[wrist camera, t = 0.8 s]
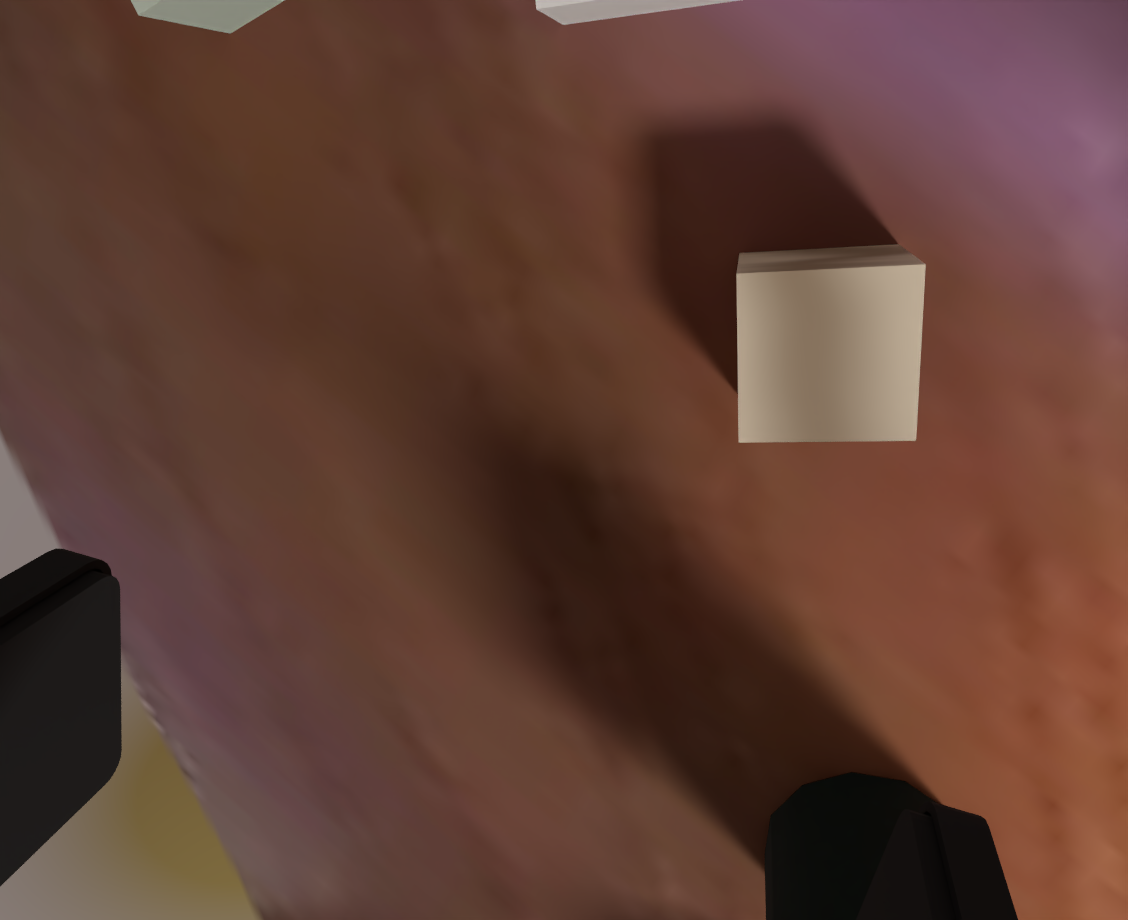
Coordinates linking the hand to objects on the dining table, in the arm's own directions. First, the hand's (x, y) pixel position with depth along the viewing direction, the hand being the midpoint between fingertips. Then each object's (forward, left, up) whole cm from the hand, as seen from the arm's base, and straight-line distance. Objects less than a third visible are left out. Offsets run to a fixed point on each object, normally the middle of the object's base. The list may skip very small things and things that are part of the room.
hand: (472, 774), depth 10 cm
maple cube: (-5, -1, -23) cm, 23 cm away
